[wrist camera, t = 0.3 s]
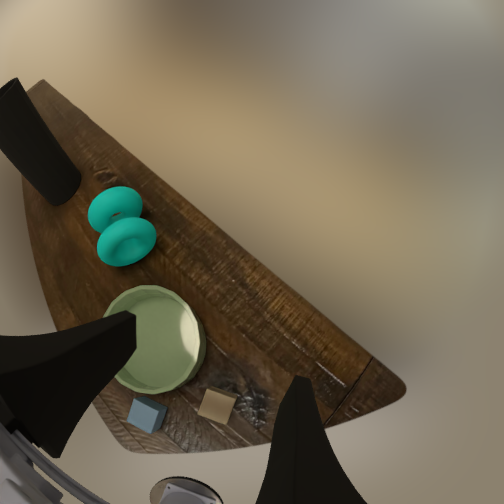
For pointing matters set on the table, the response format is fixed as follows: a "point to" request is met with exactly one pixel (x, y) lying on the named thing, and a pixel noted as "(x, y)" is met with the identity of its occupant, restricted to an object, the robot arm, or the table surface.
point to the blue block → (146, 414)
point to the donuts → (121, 227)
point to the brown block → (217, 405)
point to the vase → (34, 146)
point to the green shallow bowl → (160, 340)
